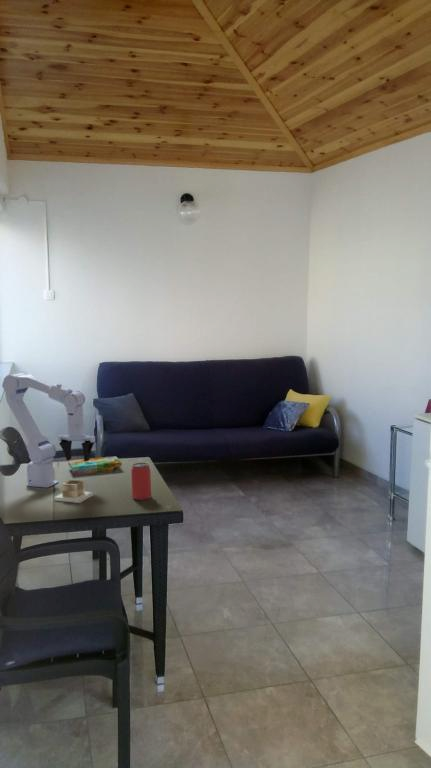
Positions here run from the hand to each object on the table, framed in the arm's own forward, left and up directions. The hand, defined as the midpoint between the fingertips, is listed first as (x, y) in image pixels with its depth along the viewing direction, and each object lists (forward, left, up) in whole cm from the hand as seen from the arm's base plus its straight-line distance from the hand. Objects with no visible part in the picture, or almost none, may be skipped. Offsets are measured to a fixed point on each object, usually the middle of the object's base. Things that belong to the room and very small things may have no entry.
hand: (77, 460), depth 249 cm
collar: (+5, -13, -9) cm, 16 cm away
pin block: (+5, -13, -10) cm, 17 cm away
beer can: (+29, -6, -11) cm, 31 cm away
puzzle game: (-7, +24, -11) cm, 27 cm away
